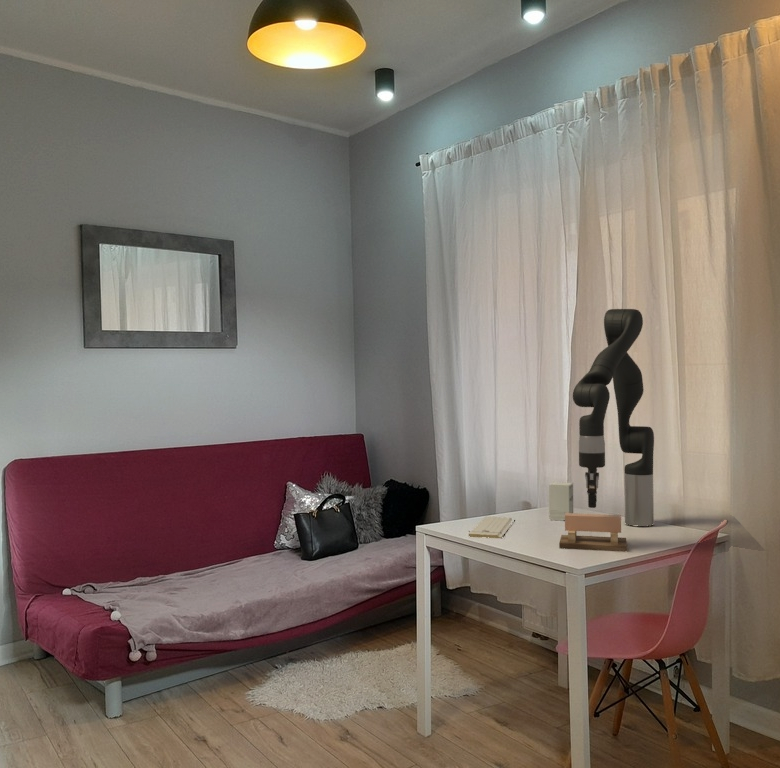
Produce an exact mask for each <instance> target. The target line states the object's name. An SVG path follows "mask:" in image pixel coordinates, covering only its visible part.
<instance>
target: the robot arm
mask: <svg viewBox="0 0 780 768" xmlns="http://www.w3.org/2000/svg"><path fill="white" fill-rule="evenodd" d="M643 324H644V320H643V314H642V313H641V311H640V310H638V309H636V308H610V309H608V310H607V311H606V312H605V314H604V318H603V329H604V335H605V338H606V339H605V340H606V344H607V347H605V348H604V349H603V350H601V351H600V352H599V353H598V354H597V356H596V357H595V358H594V360H593V362H592V364H591V367H590V369H589V371H588V372H587V373H586V374H585V375H584V376H583V377H582V378H581V379H580V380H579V381H578V382H577V384H576V385H575V386H574V389H573V391H572V400H573V403H574V404H575V405H576V406H578V407H581V408H593V409H592V412H591V413H590V414H586V415H583V416H580V418H579V423H578V425H579V426H578V427H579V435H578V436H579V437H578V466H579V467H581V468H585V469H586V468H587V471H586V472H585V474H584V477H585V488H586V489H587V490H586V493H587V495H588V496H587V498H588V499H587V503H588V504H587V505H588V508H590V509H591V508H592V509H596V508H597V495H598V491H597V490H598V488H599V480H600V472H597V471H598V469H600V468H604V467H606V443H605V433H604V432H605V428H604V424H605V423H604V422H605V417H606V413H607V409H608V405H609V402H610V397H611V395H610V391H609V388H608V385H610V383H611V382H612V381H613V390H614V395H615V402H616V409H617V410H616V411H617V422H618V423H617V424H618V425H617V426H618V439H619V441H618V442H619V447H620V450H621V452H623V453H624V454H636V455H637V454H641V458H640V459H638V460H637V461H634V462H631V463H628V464H626V465H624V469H623V470H624V523H626V524H629V525H628V526H630V525H638V526H647V525H652V524H653V523H654V520H655V519H654V518H655V517H654V515H655V513H654V510H655V509H654V507H655V505H654V449H655V448H654V447H655V434H654V430H653V428H652V427H650V426H638V425H637V426H635V425H633V426H632V425H631V424H630V418H631V416H632V414H633V411H634V410H635V408H636V406H637V405H638V403H640V402H641V401H640V400H641V399H642V396H643V395H644V381H643V380H644V379H643V374H642V371H641V369H640V367H639V366H638V364H637V362H635V361H634V359H633V358H632V357H631V356H630V354H629V353H628V351H629V350H630V348H632V346H633V345H634V343H635V342H636V340H637V339H638V338H639V335H640V334H641V332H642V329H643ZM626 524H625V525H626Z"/></svg>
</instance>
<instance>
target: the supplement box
mask: <svg viewBox="0 0 780 768" xmlns="http://www.w3.org/2000/svg"><path fill="white" fill-rule="evenodd" d="M565 513H574V483H573V482H563V481H562V482H561V481H559V482H558V481H557V482H555V481H553V482H552V483H550V484H548V519H553V520H552V521H559V520H565Z"/></svg>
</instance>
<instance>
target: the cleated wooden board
mask: <svg viewBox="0 0 780 768" xmlns="http://www.w3.org/2000/svg"><path fill="white" fill-rule="evenodd" d="M609 533H610V536H597V535H596V536H595V535H594V536H592V535H577V531H568V532H567V534H561V536H560V540H559V544H558V548H559V549H564V548H565V549H568V550H569V549H570V550H585V551H586V550H587V551H605V552H606V551H610V552H625V551H627V552H628V543H627V542H628V541H627V537H619V533H613V532H609Z"/></svg>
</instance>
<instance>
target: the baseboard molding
mask: <svg viewBox="0 0 780 768" xmlns="http://www.w3.org/2000/svg"><path fill="white" fill-rule="evenodd" d="M512 519H513V518H512V517H511V516H510V517H509V516H508V517H500V516H499V517H498V516H485V517H484V518H483V519H481V520H480V522H478V524H477V525H476V526H475V527H473V528H472V530H471V531H470V530H468V532H469V533H468V537H469V536H470V537H469V538H482V537H486V539H502V537H503V538H504V537H505V535H506V534H507V532H508V531H509V530H510V528H511V527H510V526H512V525H511V524H510V523H511V521H512ZM512 523H513V522H512ZM509 524H510V525H509ZM513 524H514V523H513ZM509 527H510V528H509ZM507 530H508V531H507ZM506 531H507V532H506ZM505 533H506V534H505ZM504 534H505V535H504ZM488 537H489V538H488Z"/></svg>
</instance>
